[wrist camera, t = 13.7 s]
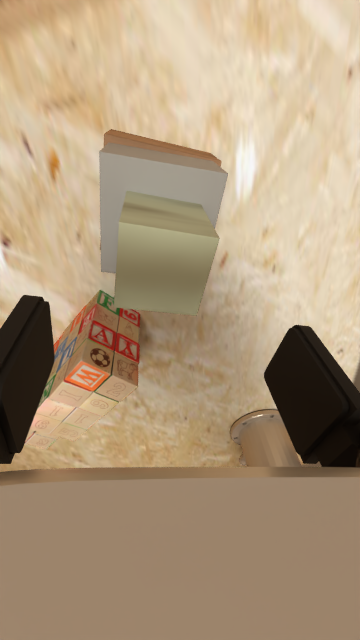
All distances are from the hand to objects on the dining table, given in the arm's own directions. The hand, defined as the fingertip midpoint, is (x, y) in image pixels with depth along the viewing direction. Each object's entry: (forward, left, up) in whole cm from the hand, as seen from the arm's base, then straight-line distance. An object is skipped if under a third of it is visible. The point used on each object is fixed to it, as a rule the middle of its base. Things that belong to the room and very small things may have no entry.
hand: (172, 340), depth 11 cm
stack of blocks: (-22, +8, -21) cm, 32 cm away
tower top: (+1, 0, -16) cm, 16 cm away
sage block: (0, 0, -11) cm, 11 cm away
